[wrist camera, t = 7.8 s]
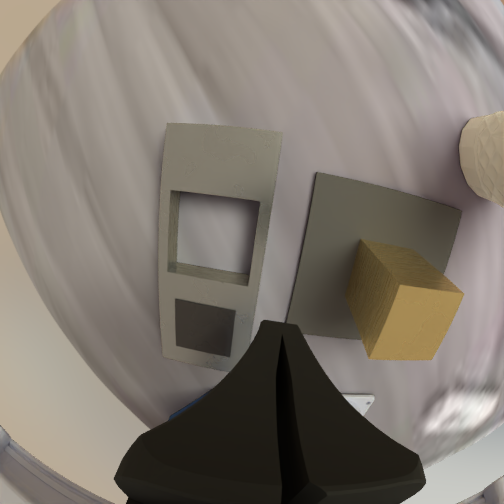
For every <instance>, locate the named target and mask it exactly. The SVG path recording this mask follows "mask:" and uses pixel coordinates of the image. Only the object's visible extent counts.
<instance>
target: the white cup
mask: <svg viewBox="0 0 504 504" xmlns="http://www.w3.org/2000/svg"><path fill="white" fill-rule="evenodd" d="M459 154H460V166H461V169H462V171H463V174H464V177H465V179H466V182H467V184H468V185H469V186H470V188H471V189H472V190H473V191H474V192H475V193H476V194H477V195H478V196H480V197H482V198H485V199H487V200H490V201H492V202H494V203H497V204H498V205H500V206H501V207H502V208H504V111H500V112H495V113H493V114H491V115H486V116H480V117H476V118H471V119H470V120H469V122H468V123H467V124H466V125H465V127H464V128H463V129H462V134H461V139H460V143H459Z"/></svg>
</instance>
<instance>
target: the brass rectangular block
mask: <svg viewBox="0 0 504 504" xmlns="http://www.w3.org/2000/svg"><path fill="white" fill-rule="evenodd" d="M463 296H464V293H463V292H462V291H461V290H460V289H459V288H457V287H456V286H455V285H454V284H453V283H452V282H451V281H450V280H449V279H448V278H446V277H445V276H444V275H443V274H442V273H441V272H440V271H438V270H437V269H436V268H435V267H434V266H433V265H432V264H430V263H429V262H428V261H427V260H426V259H424V258H423V257H422V256H421V255H420V254H418V253H417V252H416V251H415V250H413V249H409V248H404V247H400V246H395V245H390V244H385V243H380V242H375V241H369V240H364V239H360V243H359V247H358V251H357V255H356V258H355V262H354V266H353V269H352V273H351V276H350V280H349V283H348V286H347V290H346V293H345V298H346V300H347V303H348V305H349V308H350V310H351V313H352V315H353V318H354V321H355V323H356V326H357V328H358V331H359V334H360V336H361V339H362V342H363V344H364V347H365V350H366V353H367V355H368V358H369V359H376V360H432V358H433V357H434V355H435V353H436V351H437V350H438V348H439V346H440V344H441V342H442V340H443V338H444V337H445V335H446V333H447V331H448V329H449V327H450V325H451V323H452V321H453V318H454V316H455V314H456V312H457V310H458V307H459V305H460V303H461V301H462V298H463Z"/></svg>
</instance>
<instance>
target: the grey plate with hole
mask: <svg viewBox="0 0 504 504" xmlns="http://www.w3.org/2000/svg"><path fill="white" fill-rule="evenodd" d="M282 134H283V133H282V132H275V131H268V130H261V129H252V128H243V127H233V126H222V125H207V124H187V123H167V126H166V134H165V143H164V153H163V163H162V175H161V189H160V206H159V235H158V283H159V311H160V328H161V342H162V354H163V357H165V358H169V359H172V360H176V361H180V362H184V363H188V364H193V365H197V366H202V367H206V368H211V369H216V370H221V371H226V372H230V371H231V370H232V369H233V368H234V366H235V365H236V364H237V363H238V361H239V360H240V359H241V358H242V356H243V355H244V354H245V352H246V351H247V349H248V348H249V345H250V339H251V333H252V327H253V321H254V315H255V309H256V303H257V297H258V291H259V285H260V279H261V272H262V266H263V260H264V254H265V247H266V241H267V235H268V228H269V222H270V215H271V209H272V202H273V196H274V189H275V182H276V176H277V169H278V162H279V155H280V148H281V141H282ZM180 191H185V192H194V193H202V194H210V195H218V196H226V197H233V198H241V199H248V200H254V201H260V208H259V215H258V222H257V229H256V236H255V243H254V250H253V257H252V264H251V271H250V275H247V274H241V273H235V272H229V271H223V270H217V269H212V268H206V267H200V266H194V265H189V264H183V263H178V262H176V260H177V233H178V215H179V200H180Z"/></svg>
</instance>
